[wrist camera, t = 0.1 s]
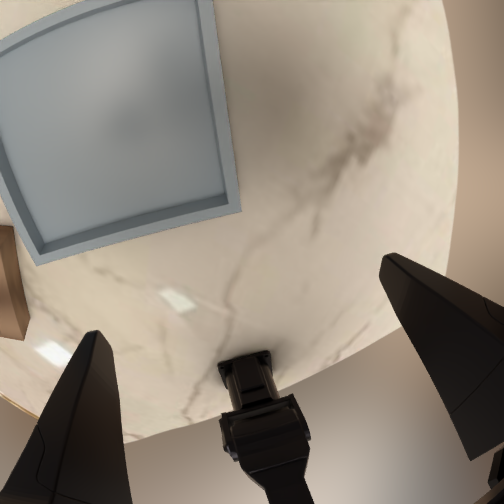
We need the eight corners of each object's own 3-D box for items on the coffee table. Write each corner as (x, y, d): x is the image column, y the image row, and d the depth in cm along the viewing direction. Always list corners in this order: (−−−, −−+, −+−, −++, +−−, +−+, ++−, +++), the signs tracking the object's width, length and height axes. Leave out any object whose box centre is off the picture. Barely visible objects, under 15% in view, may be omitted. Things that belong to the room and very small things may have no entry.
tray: (234, 195, 23) (241, 211, 21) (44, 247, 21) (36, 266, 19) (203, -19, 13) (208, -29, 11) (-20, 62, 11) (-39, 65, 9)
